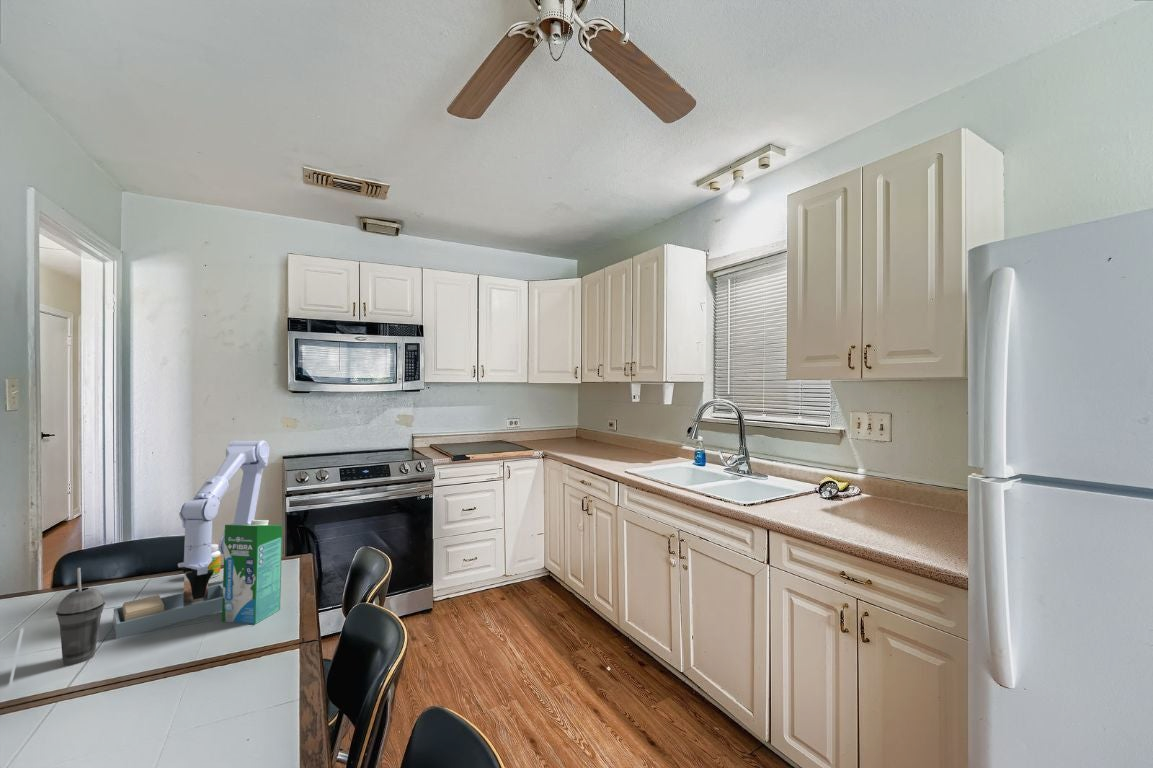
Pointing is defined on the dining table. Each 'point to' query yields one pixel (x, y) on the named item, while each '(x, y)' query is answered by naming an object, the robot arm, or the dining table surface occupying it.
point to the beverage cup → (79, 623)
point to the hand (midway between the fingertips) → (196, 595)
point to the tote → (169, 613)
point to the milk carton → (251, 571)
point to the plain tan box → (142, 608)
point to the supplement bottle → (215, 560)
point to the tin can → (188, 593)
